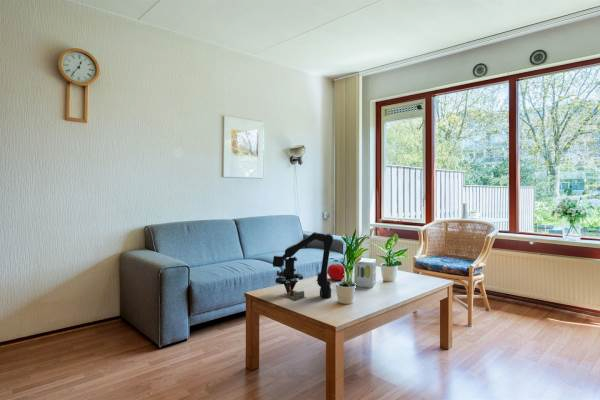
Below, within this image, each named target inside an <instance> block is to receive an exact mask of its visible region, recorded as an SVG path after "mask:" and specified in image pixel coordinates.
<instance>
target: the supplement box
mask: <svg viewBox="0 0 600 400" xmlns="http://www.w3.org/2000/svg"><path fill="white" fill-rule="evenodd" d="M360 258H361V260H360V261H358V263H357V264H356V265H355V264H354V271H353V272H354V276H353V279H354V281H353V282H355V283H356V284H357V286H356V287H363V288H370V289H371V288H372V289H373V288H374V287H375V285H376V281H377V279H376V277H377V272H376V271H377V259H376V258H369V257H368V258H367V257H360Z"/></svg>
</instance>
